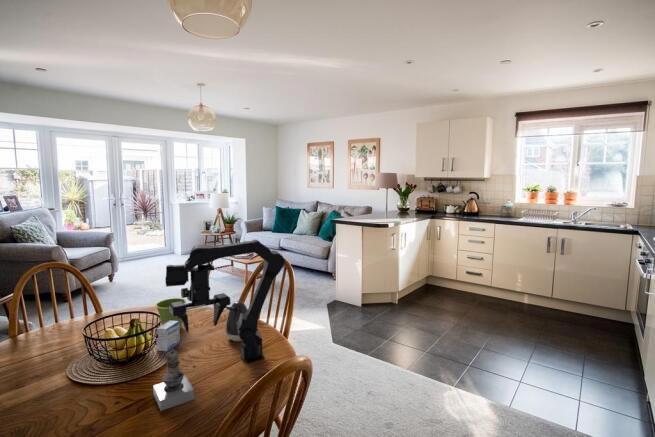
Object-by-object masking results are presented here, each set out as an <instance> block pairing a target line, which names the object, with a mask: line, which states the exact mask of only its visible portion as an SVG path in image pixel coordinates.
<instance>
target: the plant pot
mask: <svg viewBox="0 0 655 437" xmlns="http://www.w3.org/2000/svg"><path fill="white" fill-rule="evenodd" d="M180 301H182V302H183V303H184V304H187V299H185V298H182V297H174V298H173V297H172V298H167V299H163V300H160V301H158V302H157V303H155V308H157V312H158V314H159V319H160V322H161V326H162V325H163V324H165V323H166V322H168V321H179V330H180V329H182V327H183V322H182V320H181V318H177V316H173V315H172V314H171V313H170V312H169V305H170V304H171V303H174V302H180Z"/></svg>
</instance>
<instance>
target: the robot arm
mask: <svg viewBox="0 0 655 437" xmlns="http://www.w3.org/2000/svg"><path fill="white" fill-rule="evenodd" d="M253 253H255V254H256V255H257V256H259V257H260V258H261V259H263V260H264V261H263V266H262V267H263V268H262V274H261V276H260V279H259V282H258V284H257V286H256V289H255V292H254V294H253V297H252V299H251V301H250V304H249V306H248V308H247V309H248V310H247V312H246V313H245V314H242V313H240V317H239V320H238V321H237V322H236V324H237V330H238V334H239V337H240V339H241V340H243V341H241V342H242V343H241V344H242V345H241V346H240V358H242V359H243V360H244V361H245V363H247V364H250V363H254V362H258V361H259V360H263V359H265V355H263V338H262V336H261V333H260V330H259V328H258V325H259V324H258V323H259V317H260V313H261V312H262V309H263V306H264V304H265V301H266V299H267V297H268V295H269V291H270V289H271V287H272V284H273V281H274V279H276V277H277V276H278V275H279V273H281V271H282V269H283V267H284V266H285V258H284V256H283V254H281V253H280V252H279V251H278V250H271V248H269V247H268V246H266V245H265V244H263V243H261V241H260V240H258V239H252V240H247V241H241V242H235V243H228V244H222V245H212V244H211V245H210V244H196V245H194V246H193V247H192V248H191V250H190V252H189V257H188V258H187V259H186V260H185V262H184V264H167V265H166V268H165V287H177V286H179V287H180V286H185V285H186V284H187V283H188V282H190V286H189V288H188V287H184V288H181V289H180V294H181V295H180V298H182V299H185V298H187V299H186V300H187V301H189V302H188V303H187V302H186V303H185V304H184V303H183V302H182V301H180V302H174V303H171V304H170V305H169V312H170V313H171V314H172V315H173V316H177V318H181V320H182V326H184V329H185V332H186V333H187V334H188V333H189V331H190V330H189V329H190V327H189V318H188V317H189V316H188V314H187V311H188V310H191V309H197V308H202V307H207V306H211V305H212V306H213V325H214V326H217V325H218V322H219V320H220V317H221V315H222V314H223V312H224V310H225V309H226V308H227V307H228V306H230V305H232V304H231V297H230V296H228V295H227V294H226V293H223V292H222V293H218V294H217V293H216V294H214V295H213V297H212V298H210V291H211V287H210V271H215V266H214V265H213V264H212V262H214V261H216V260H218V259H222V258H228V257H235V256H239V255H241V256H242V255H247V254H253ZM189 273H190V275H189ZM189 276H190V279H189ZM189 280H190V281H189Z"/></svg>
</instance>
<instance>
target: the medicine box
mask: <svg viewBox="0 0 655 437" xmlns="http://www.w3.org/2000/svg"><path fill="white" fill-rule="evenodd" d="M158 327H159V328H158ZM158 327H156V329H157V334H158V338H156V350H157V351H161V352H167V351H168V352H170V351H171V348H173V349H174V347H176V346H177V345H179V343H181V336H180V335H181V333H180V331H181V330H180V329H179V321H168V322H166V323H165V324H163V325H162V324H161V325H160V326H158Z"/></svg>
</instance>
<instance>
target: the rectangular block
mask: <svg viewBox="0 0 655 437" xmlns="http://www.w3.org/2000/svg"><path fill="white" fill-rule="evenodd" d="M182 383H183V384H184V387H183V388H182V389H181V390H179V391H177V392H173V393H167V392H165V391H164V388H165V386H166V385H165V383H164V381H163V382H160V383H156V384H153V388H152V389H153V390H152V391H153V397H154V399H155V402H156V404H157V406H158V408H159V411H160V412H162V411H164V410H167V409H171V408H173V407H176V406H179V405H182V404H185V403H189V402H190V401H193V400H195V388H193V386H192V384H191V383H190V381H189V380H188V378H187V376H186V375H184V377H183V380H182Z"/></svg>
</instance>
